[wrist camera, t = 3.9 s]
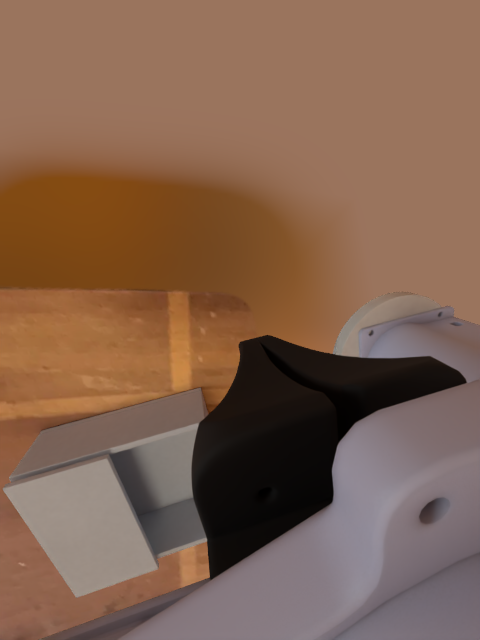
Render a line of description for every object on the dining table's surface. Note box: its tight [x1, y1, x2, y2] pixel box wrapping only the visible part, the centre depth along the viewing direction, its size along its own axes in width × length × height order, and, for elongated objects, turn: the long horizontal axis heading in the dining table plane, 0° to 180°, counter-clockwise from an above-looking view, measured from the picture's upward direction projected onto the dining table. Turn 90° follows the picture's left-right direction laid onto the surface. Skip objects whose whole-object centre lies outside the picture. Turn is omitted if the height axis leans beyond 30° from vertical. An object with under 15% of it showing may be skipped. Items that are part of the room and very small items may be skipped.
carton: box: [3, 387, 208, 598], centre depth 22 cm, size 13×12×5 cm
